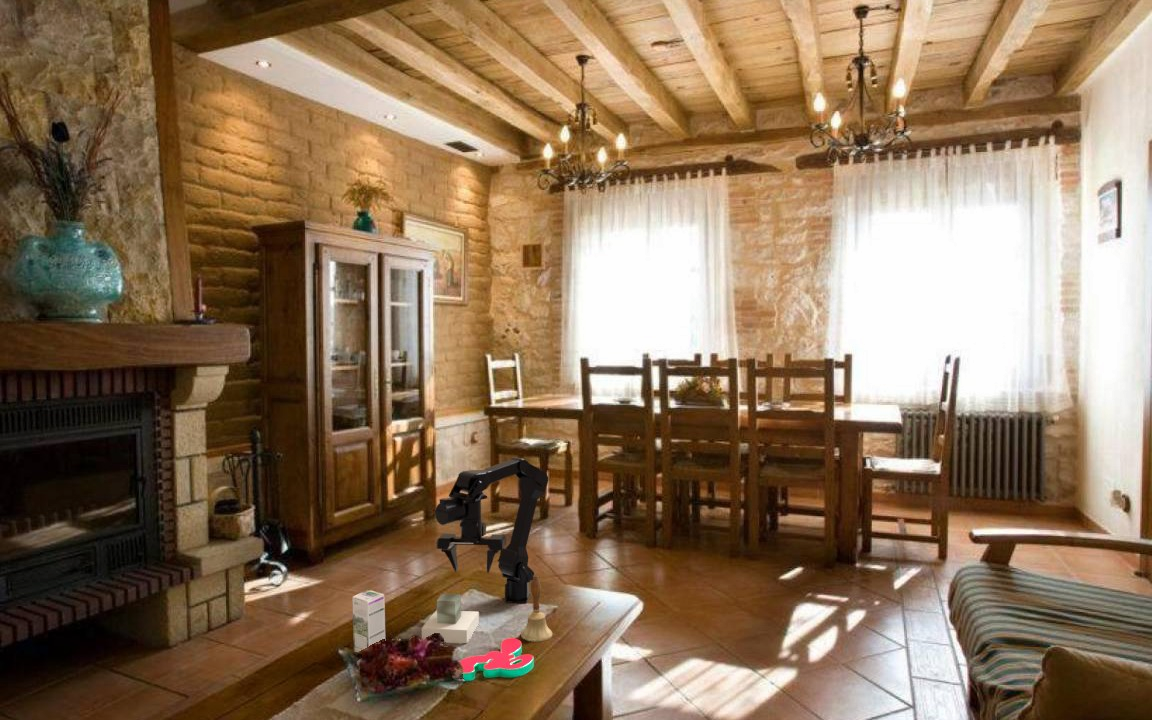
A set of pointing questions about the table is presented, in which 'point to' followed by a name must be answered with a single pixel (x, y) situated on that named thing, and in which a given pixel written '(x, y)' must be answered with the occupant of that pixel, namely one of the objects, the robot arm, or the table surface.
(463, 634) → the cream block
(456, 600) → the green block
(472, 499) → the robot arm
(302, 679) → the table surface
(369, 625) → the syrup box
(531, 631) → the hand bell
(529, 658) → the squiggly shape
